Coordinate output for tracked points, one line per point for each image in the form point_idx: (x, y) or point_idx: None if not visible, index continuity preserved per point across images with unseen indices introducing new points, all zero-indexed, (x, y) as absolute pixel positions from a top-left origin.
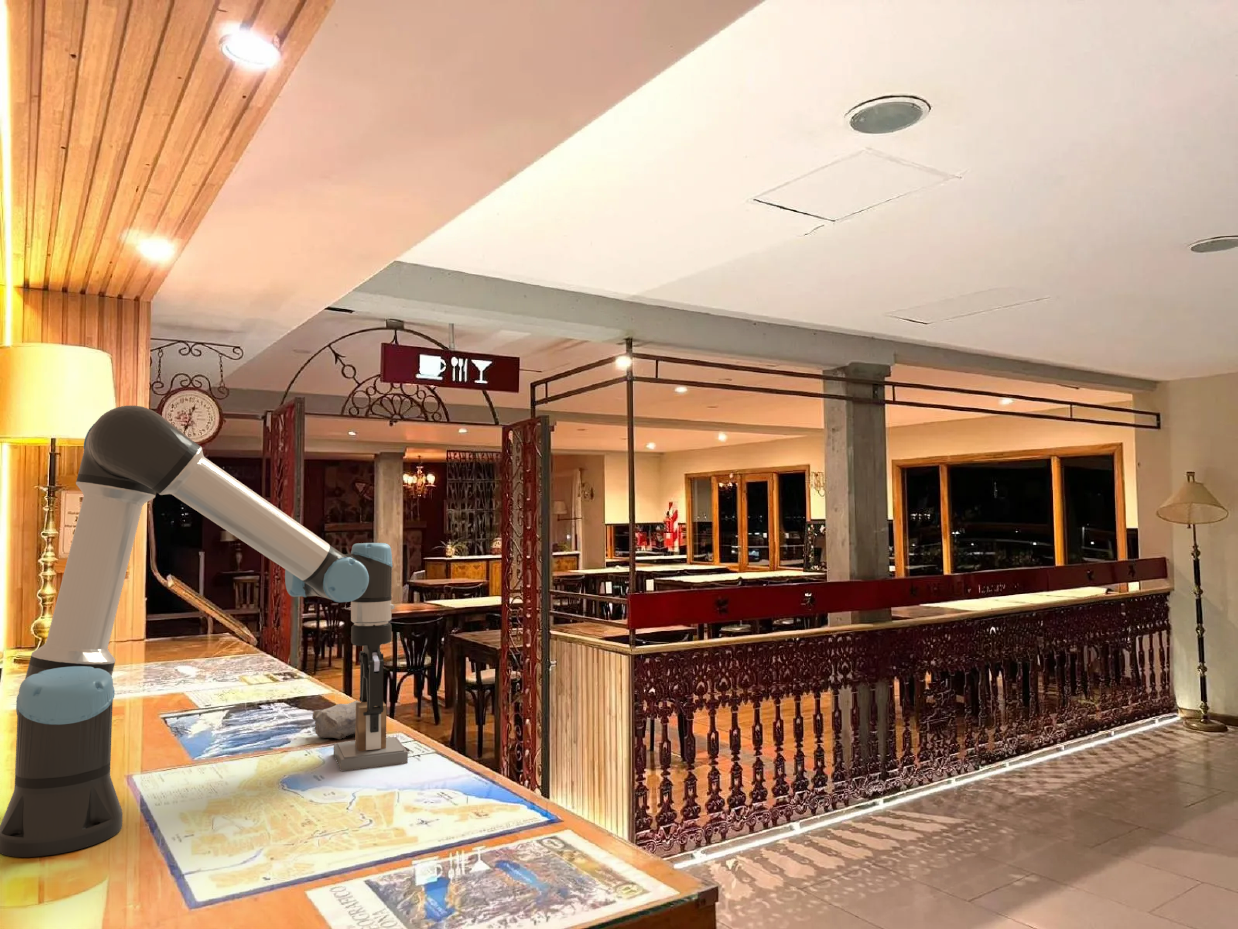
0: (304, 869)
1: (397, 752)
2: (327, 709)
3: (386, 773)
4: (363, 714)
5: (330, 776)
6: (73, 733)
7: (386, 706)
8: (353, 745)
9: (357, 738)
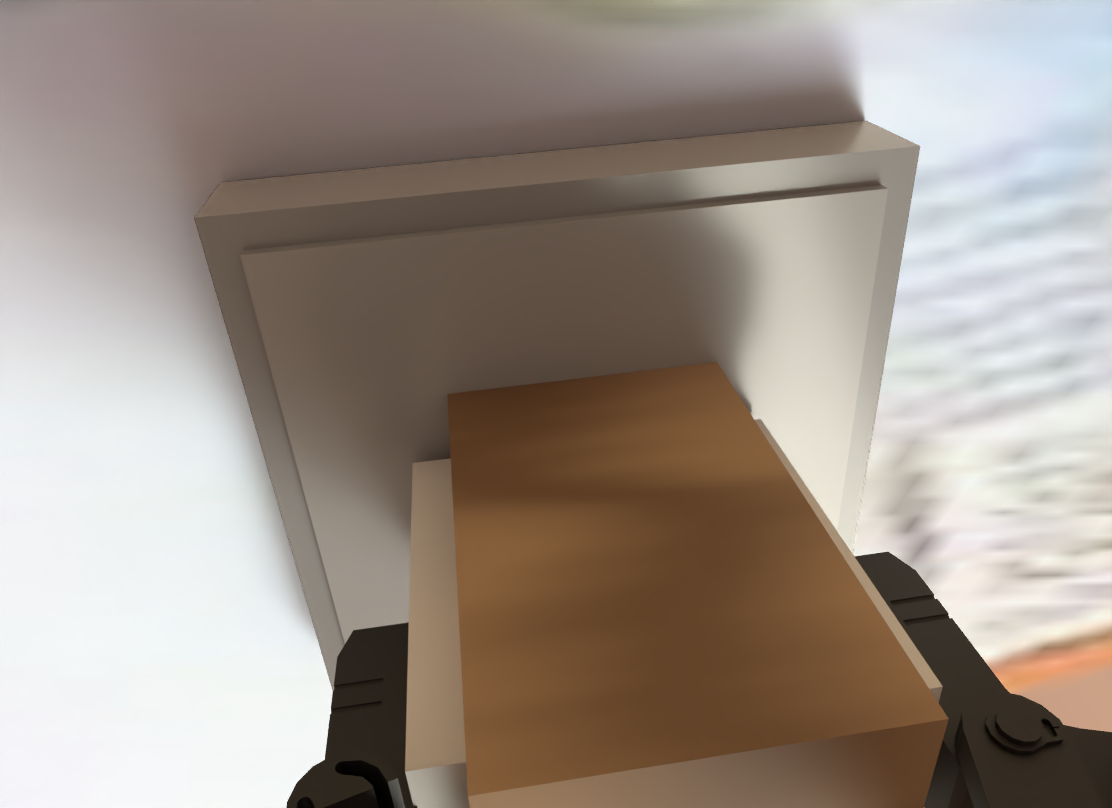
0: None
1: None
2: None
3: (86, 535)
4: (363, 765)
5: (43, 70)
6: None
7: None
8: (696, 347)
9: (572, 438)
